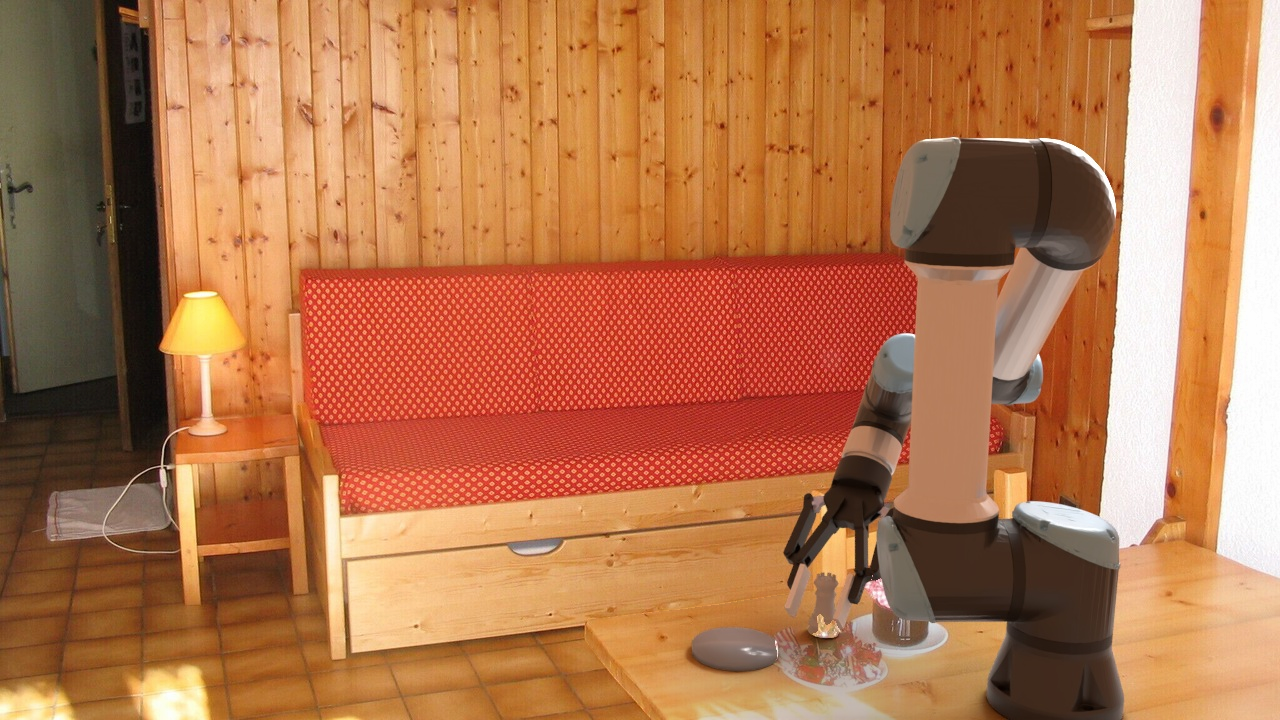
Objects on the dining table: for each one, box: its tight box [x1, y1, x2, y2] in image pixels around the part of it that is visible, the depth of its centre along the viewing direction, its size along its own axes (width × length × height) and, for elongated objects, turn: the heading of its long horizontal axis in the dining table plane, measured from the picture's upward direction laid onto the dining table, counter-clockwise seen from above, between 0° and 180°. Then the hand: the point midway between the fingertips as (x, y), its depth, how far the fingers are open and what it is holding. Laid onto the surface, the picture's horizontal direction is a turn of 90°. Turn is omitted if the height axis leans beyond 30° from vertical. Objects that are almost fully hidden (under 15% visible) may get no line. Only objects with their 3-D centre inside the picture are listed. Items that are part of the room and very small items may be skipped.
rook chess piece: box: [807, 572, 840, 635], centre depth 167 cm, size 4×4×8 cm
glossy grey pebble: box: [691, 626, 778, 672], centre depth 161 cm, size 11×11×1 cm
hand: (813, 617), depth 164 cm, fingers open, 6 cm apart
